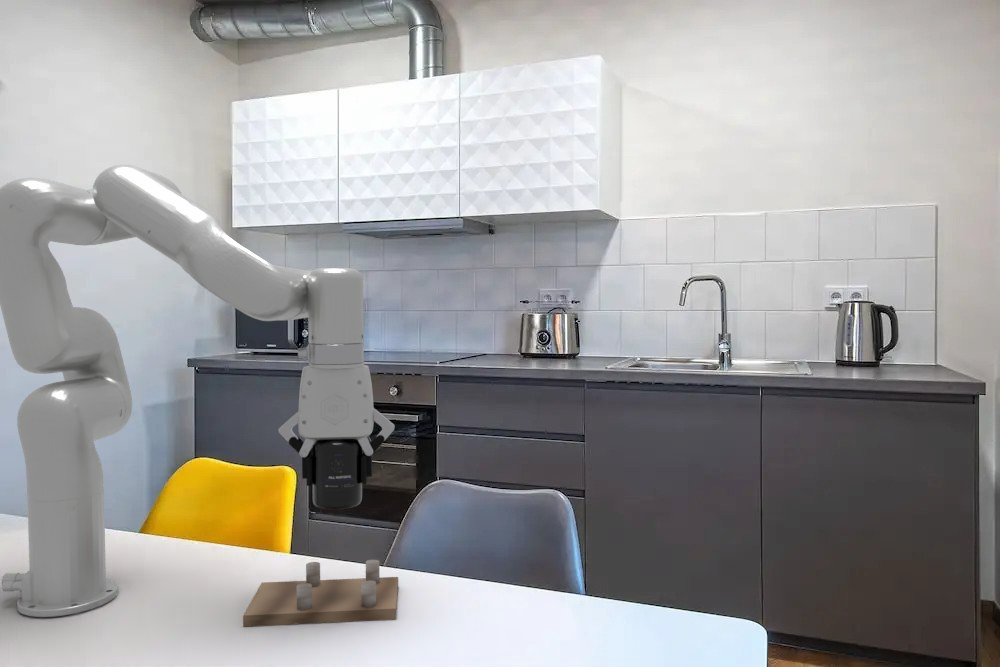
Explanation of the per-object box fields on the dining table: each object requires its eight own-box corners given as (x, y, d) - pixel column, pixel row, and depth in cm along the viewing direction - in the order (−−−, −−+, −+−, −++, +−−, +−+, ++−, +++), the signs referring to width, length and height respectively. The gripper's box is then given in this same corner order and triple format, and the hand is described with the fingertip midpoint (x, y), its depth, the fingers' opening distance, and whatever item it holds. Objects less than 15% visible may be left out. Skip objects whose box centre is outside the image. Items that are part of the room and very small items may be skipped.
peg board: (243, 626, 100) (242, 593, 100) (261, 592, 112) (261, 562, 112) (396, 619, 102) (395, 586, 102) (398, 586, 114) (398, 557, 114)
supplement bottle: (335, 513, 102) (334, 424, 101) (302, 505, 106) (301, 420, 106) (372, 502, 107) (372, 418, 107) (340, 495, 112) (339, 414, 111)
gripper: (267, 358, 101) (269, 491, 102) (398, 357, 103) (399, 487, 104) (277, 355, 109) (279, 478, 109) (399, 354, 111) (400, 475, 111)
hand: (337, 481), depth 107 cm, fingers closed on supplement bottle, 6 cm apart
